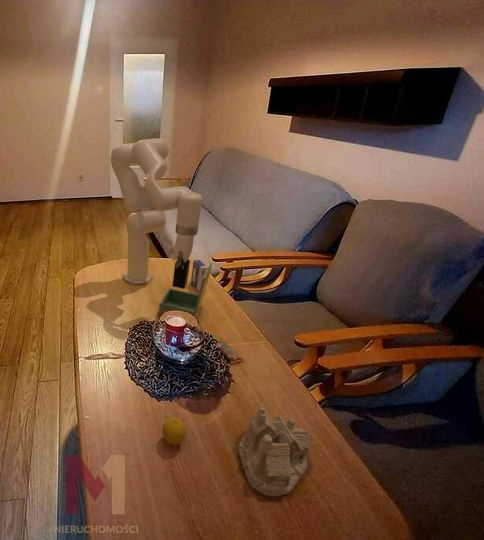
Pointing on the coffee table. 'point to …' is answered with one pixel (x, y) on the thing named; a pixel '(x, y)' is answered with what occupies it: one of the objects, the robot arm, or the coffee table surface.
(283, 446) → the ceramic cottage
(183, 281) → the iron block
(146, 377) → the coffee table surface
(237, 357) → the chocolate bar
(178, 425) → the lemon
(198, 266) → the walkman
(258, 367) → the coffee table surface
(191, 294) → the green shallow box
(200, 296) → the lid
